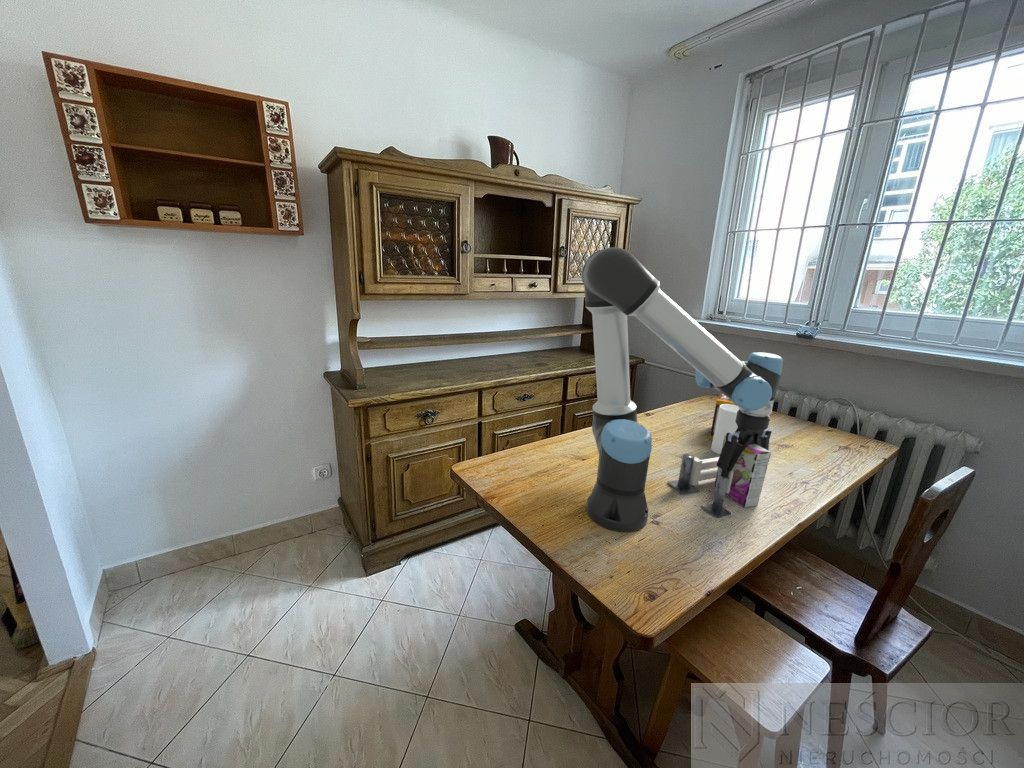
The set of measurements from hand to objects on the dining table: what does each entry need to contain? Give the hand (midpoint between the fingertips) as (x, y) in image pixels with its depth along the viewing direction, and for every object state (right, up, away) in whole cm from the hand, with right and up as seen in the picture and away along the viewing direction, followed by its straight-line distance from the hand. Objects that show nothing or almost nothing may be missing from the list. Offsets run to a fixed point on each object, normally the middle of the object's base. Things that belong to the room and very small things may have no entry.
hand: (736, 487), depth 111 cm
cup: (+12, +5, +29) cm, 31 cm away
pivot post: (-13, -1, +4) cm, 14 cm away
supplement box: (+19, +9, +42) cm, 47 cm away
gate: (-4, +1, +7) cm, 8 cm away
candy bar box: (0, -3, +1) cm, 3 cm away
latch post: (-9, -4, -7) cm, 12 cm away
